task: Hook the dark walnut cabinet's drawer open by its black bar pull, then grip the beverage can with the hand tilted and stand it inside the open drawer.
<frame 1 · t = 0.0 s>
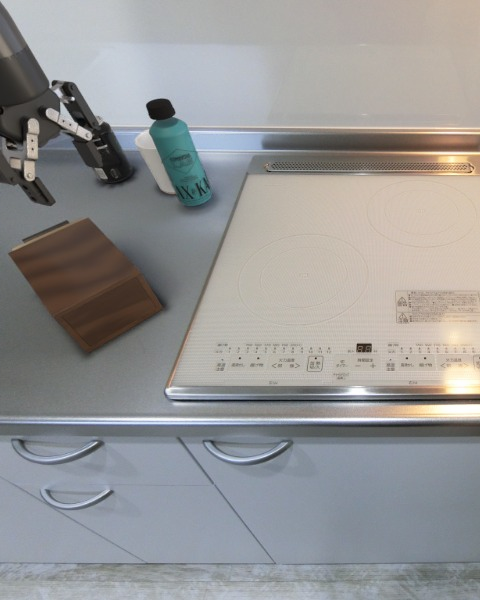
hand: (72, 184, 56), 20 cm above the counter, tool pointing down, fingers open, 8 cm apart
mug: (178, 181, 91), on the counter
beverage bottle: (199, 203, 86), on the counter
beverage can: (117, 177, 93), on the counter
cabinet: (102, 300, 69), on the counter
drawer: (74, 265, 68), point 4 cm above the counter, slide at 1.0 cm
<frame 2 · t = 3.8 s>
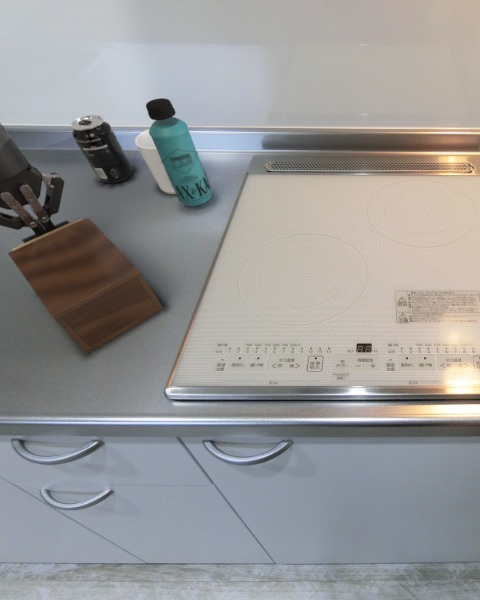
hand: (52, 239, 72), 5 cm above the counter, tool pointing down, fingers closed
drawer: (74, 265, 68), point 4 cm above the counter, slide at 1.0 cm, touching gripper
everything else where it was.
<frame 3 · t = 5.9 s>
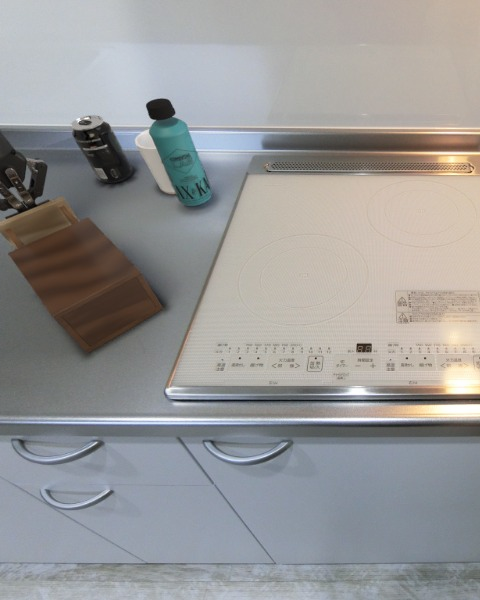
hand: (37, 221, 76), 4 cm above the counter, tool pointing down, fingers closed
drawer: (54, 241, 72), point 4 cm above the counter, slide at 9.5 cm, touching gripper
everything else where it was.
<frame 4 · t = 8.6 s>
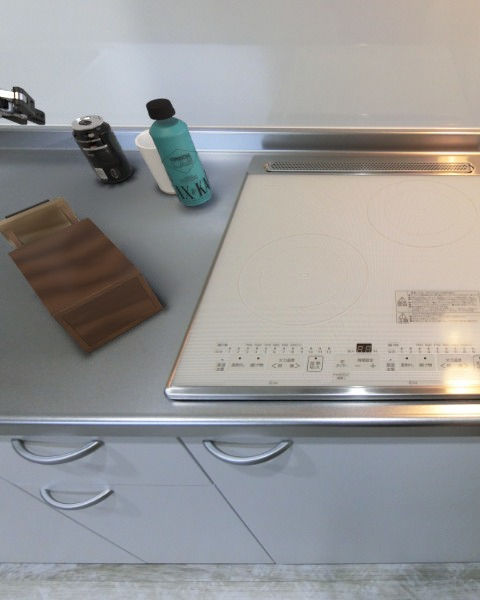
hand: (33, 118, 72), 18 cm above the counter, tool tilted 45°, fingers closed
drawer: (53, 240, 72), point 4 cm above the counter, slide at 9.7 cm
everything else where it was.
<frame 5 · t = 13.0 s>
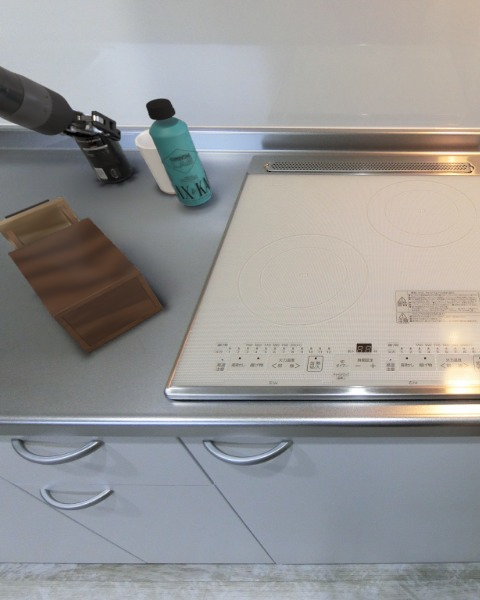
hand: (100, 135, 87), 8 cm above the counter, tool tilted 45°, fingers closed on beverage can, 7 cm apart
beverage can: (117, 177, 93), on the counter, touching gripper
everything else where it was.
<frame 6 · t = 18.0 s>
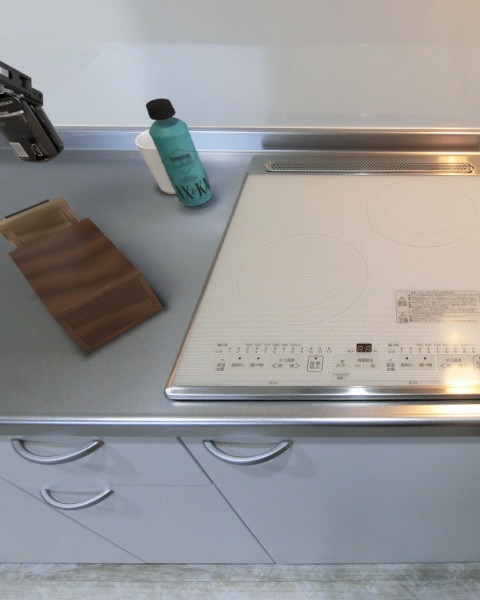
hand: (16, 99, 66), 22 cm above the counter, tool tilted 45°, fingers closed on beverage can, 7 cm apart
beverage can: (45, 156, 72), point 14 cm above the counter, touching gripper
everything else where it was.
when the fingers open (10 cm above the counter, at t = 23.2 s): beverage can stays where it is, resting on drawer.
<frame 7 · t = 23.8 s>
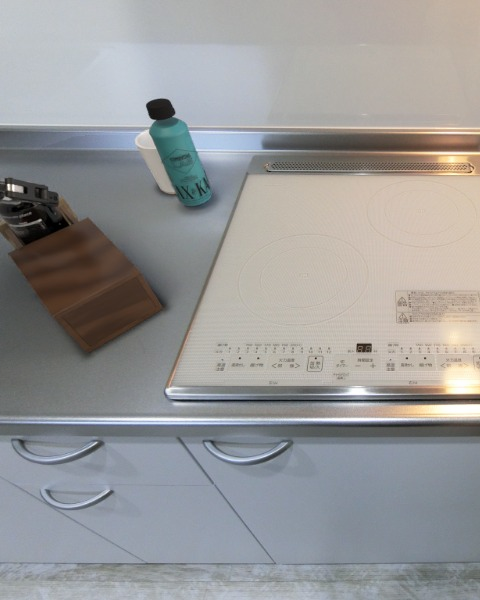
hand: (29, 199, 68), 12 cm above the counter, tool tilted 45°, fingers open, 8 cm apart
beverage can: (61, 252, 74), point 2 cm above the counter, touching drawer
drawer: (53, 240, 72), point 4 cm above the counter, slide at 9.7 cm, touching beverage can
everything else where it was.
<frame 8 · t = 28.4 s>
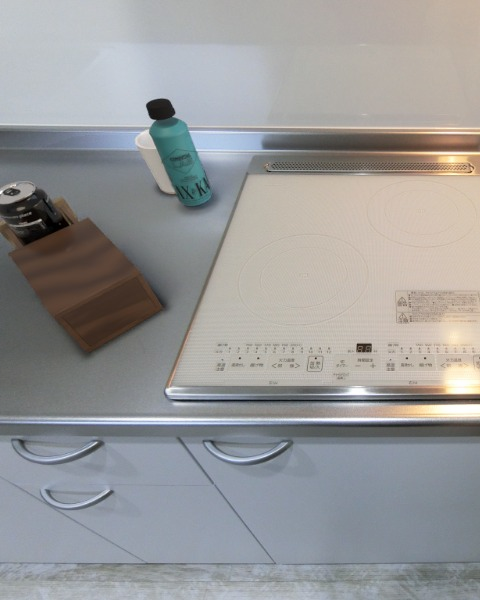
nothing on the counter moved.
at the end: drawer slide at 9.7 cm; beverage can inside the target area in the drawer (0.1 cm from its centre), point 1.8 cm above the cabinet's base; beverage can tilted 0° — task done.
